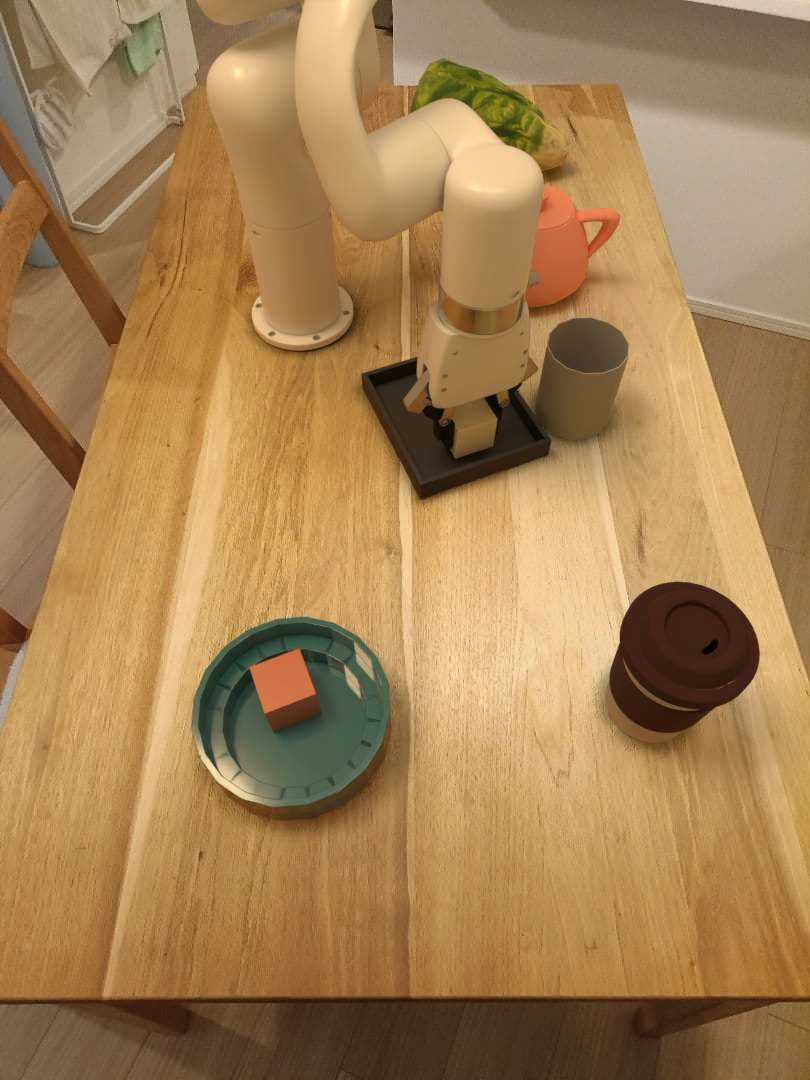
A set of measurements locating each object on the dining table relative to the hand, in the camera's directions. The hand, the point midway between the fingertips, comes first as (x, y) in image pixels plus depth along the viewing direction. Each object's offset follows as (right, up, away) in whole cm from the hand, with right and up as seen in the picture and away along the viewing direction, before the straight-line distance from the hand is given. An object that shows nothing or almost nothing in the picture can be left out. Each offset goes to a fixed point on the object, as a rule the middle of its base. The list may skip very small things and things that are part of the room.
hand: (466, 431), depth 82 cm
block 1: (-17, -26, -14) cm, 34 cm away
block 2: (0, -1, +1) cm, 1 cm away
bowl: (-16, -28, -15) cm, 36 cm away
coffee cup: (+15, -26, -14) cm, 33 cm away
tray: (-1, +2, +4) cm, 5 cm away
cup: (+12, +3, +5) cm, 14 cm away
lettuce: (+5, +43, +31) cm, 53 cm away
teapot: (+8, +22, +17) cm, 29 cm away
